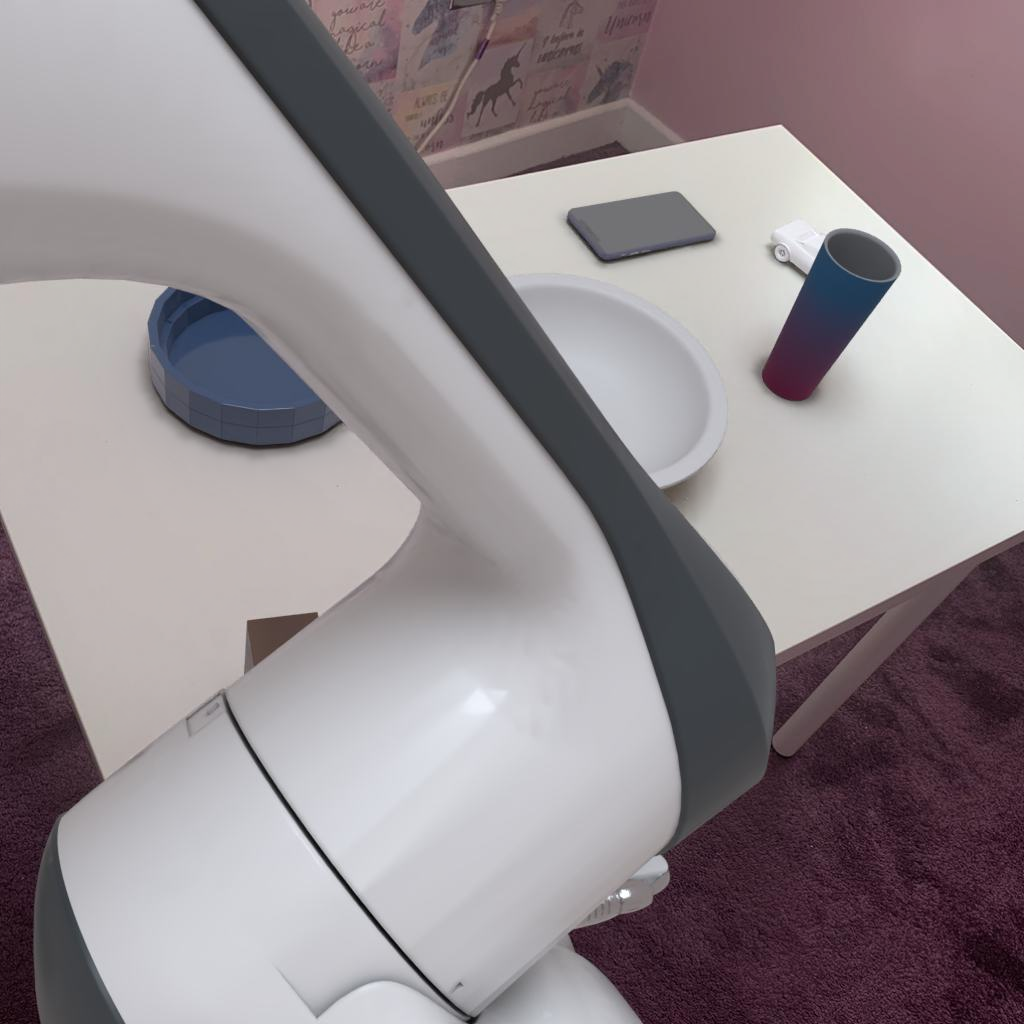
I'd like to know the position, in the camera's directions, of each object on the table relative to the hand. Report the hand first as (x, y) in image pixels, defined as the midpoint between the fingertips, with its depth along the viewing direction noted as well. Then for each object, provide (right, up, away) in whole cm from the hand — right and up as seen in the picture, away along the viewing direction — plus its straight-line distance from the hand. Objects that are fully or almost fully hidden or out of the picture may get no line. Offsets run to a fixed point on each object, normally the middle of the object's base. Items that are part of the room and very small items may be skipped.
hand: (337, 796), depth 48 cm
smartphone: (+21, +42, +61) cm, 77 cm away
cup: (+34, +25, +51) cm, 66 cm away
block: (-7, -1, +19) cm, 20 cm away
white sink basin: (+12, +20, +41) cm, 47 cm away
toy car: (+40, +38, +63) cm, 84 cm away
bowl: (-12, +24, +37) cm, 46 cm away
